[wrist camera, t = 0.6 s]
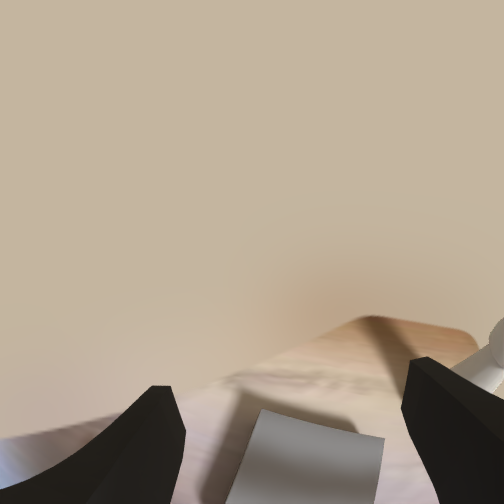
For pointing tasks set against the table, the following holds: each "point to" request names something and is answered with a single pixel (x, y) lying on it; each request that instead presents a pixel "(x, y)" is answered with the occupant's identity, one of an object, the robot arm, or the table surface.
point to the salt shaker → (486, 362)
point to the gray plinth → (306, 464)
